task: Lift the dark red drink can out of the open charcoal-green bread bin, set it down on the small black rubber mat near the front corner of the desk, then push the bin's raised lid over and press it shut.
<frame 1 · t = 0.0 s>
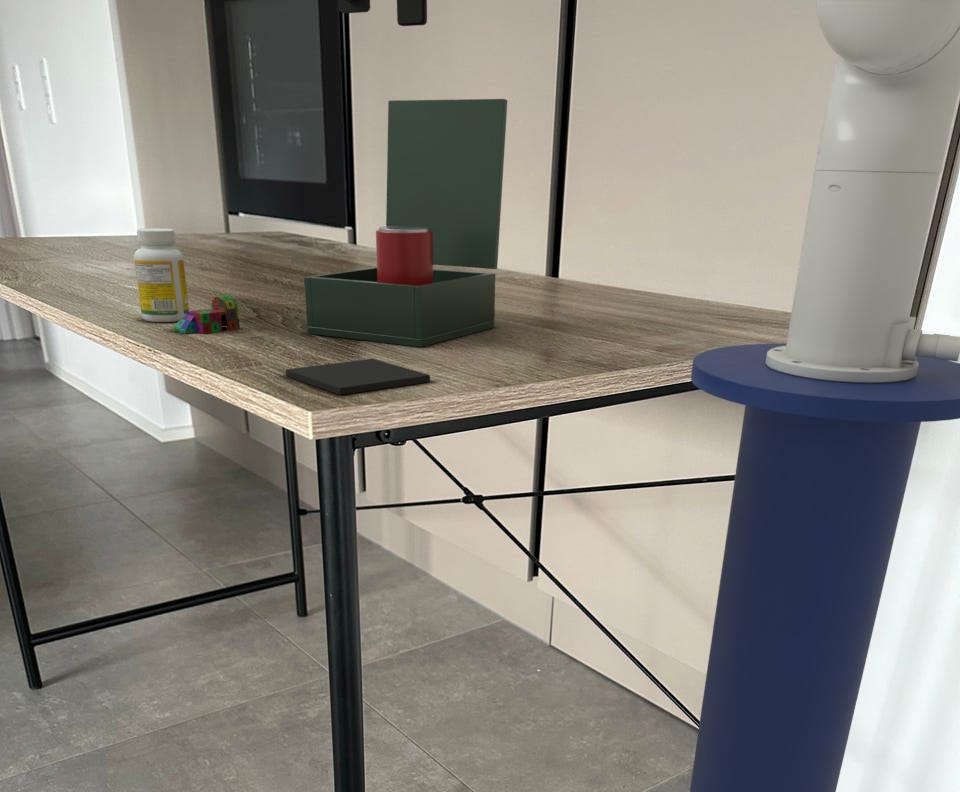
hand: (384, 18, 90), 29 cm above the table, tool pointing down, fingers open, 9 cm apart
mat: (357, 379, 81), on the table
can: (406, 325, 103), point 1 cm above the table, touching bread bin
supplement bottle: (166, 321, 109), on the table
bread bin: (403, 330, 105), on the table
bin lid: (451, 186, 106), point 14 cm above the table, hinge at 95.0°
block: (206, 331, 103), on the table
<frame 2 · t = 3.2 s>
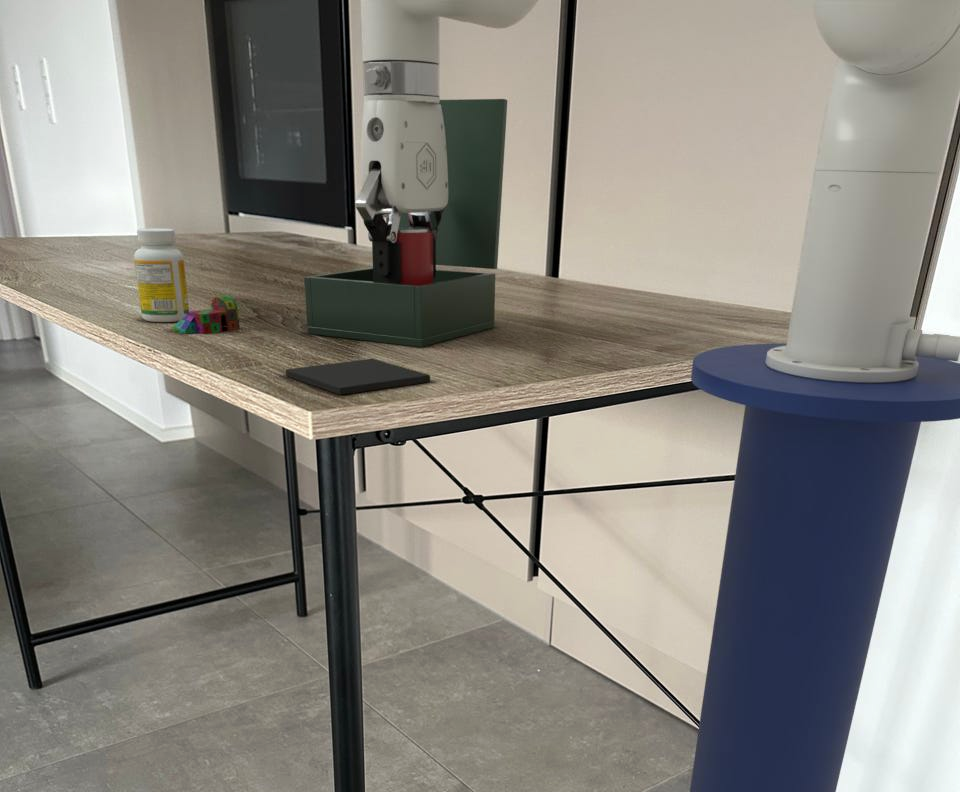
hand: (405, 278, 101), 6 cm above the table, tool pointing down, fingers closed on can, 6 cm apart
can: (406, 325, 103), point 1 cm above the table, touching bread bin, gripper
everything else where it was.
when the fingers open (5 cm above the table, at t = 11.2 s): can stays where it is, resting on mat.
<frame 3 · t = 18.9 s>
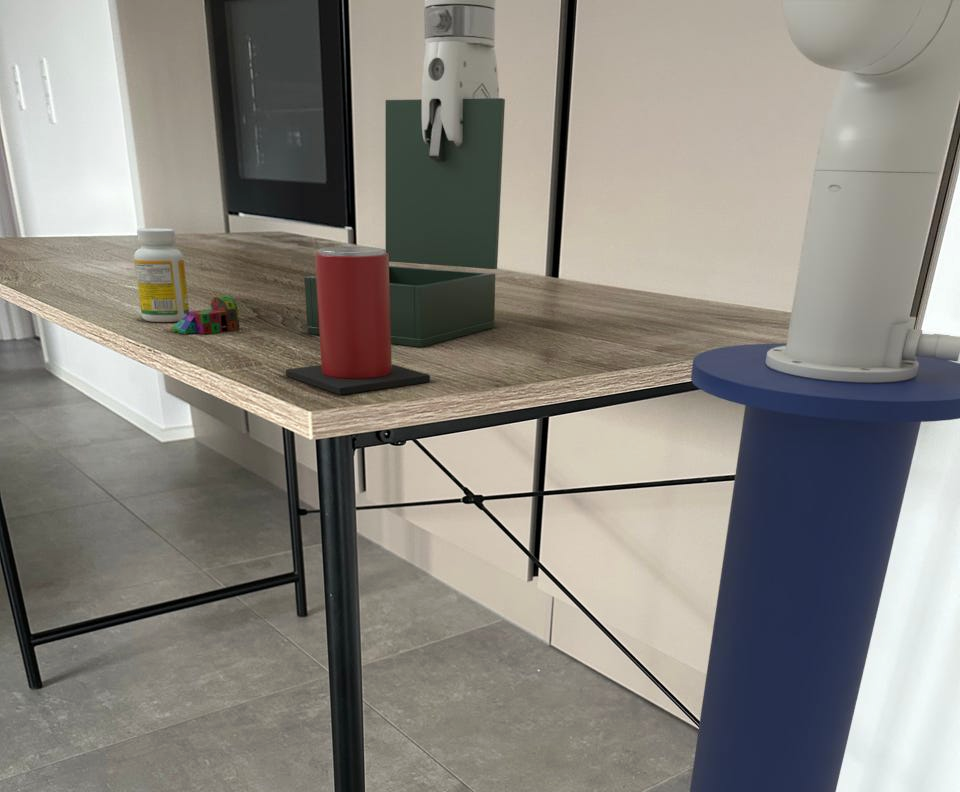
hand: (458, 217, 109), 11 cm above the table, tool pointing down, fingers closed
can: (356, 372, 81), point 1 cm above the table, touching mat
bin lid: (450, 185, 106), point 14 cm above the table, hinge at 93.0°, touching gripper
everything else where it was.
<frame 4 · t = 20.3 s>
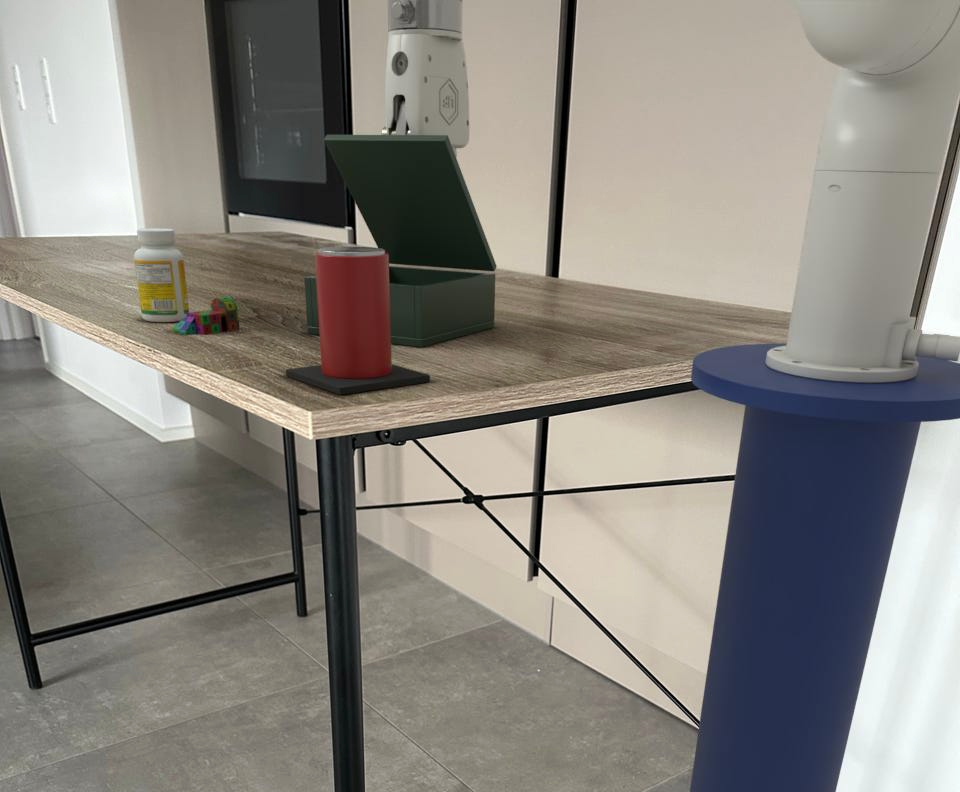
hand: (427, 220, 103), 11 cm above the table, tool pointing down, fingers closed
bin lid: (420, 192, 101), point 14 cm above the table, hinge at 49.7°, touching gripper
everything else where it was.
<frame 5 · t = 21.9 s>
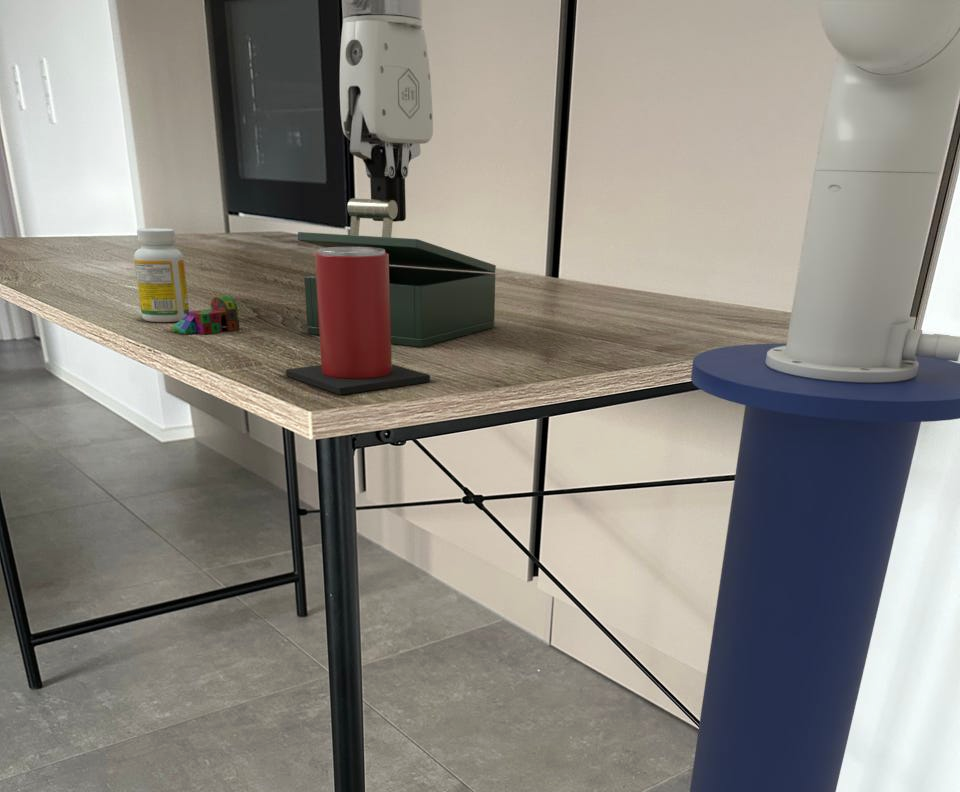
hand: (388, 220, 97), 11 cm above the table, tool pointing down, fingers closed
bin lid: (402, 234, 100), point 10 cm above the table, hinge at 12.3°, touching gripper
everything else where it was.
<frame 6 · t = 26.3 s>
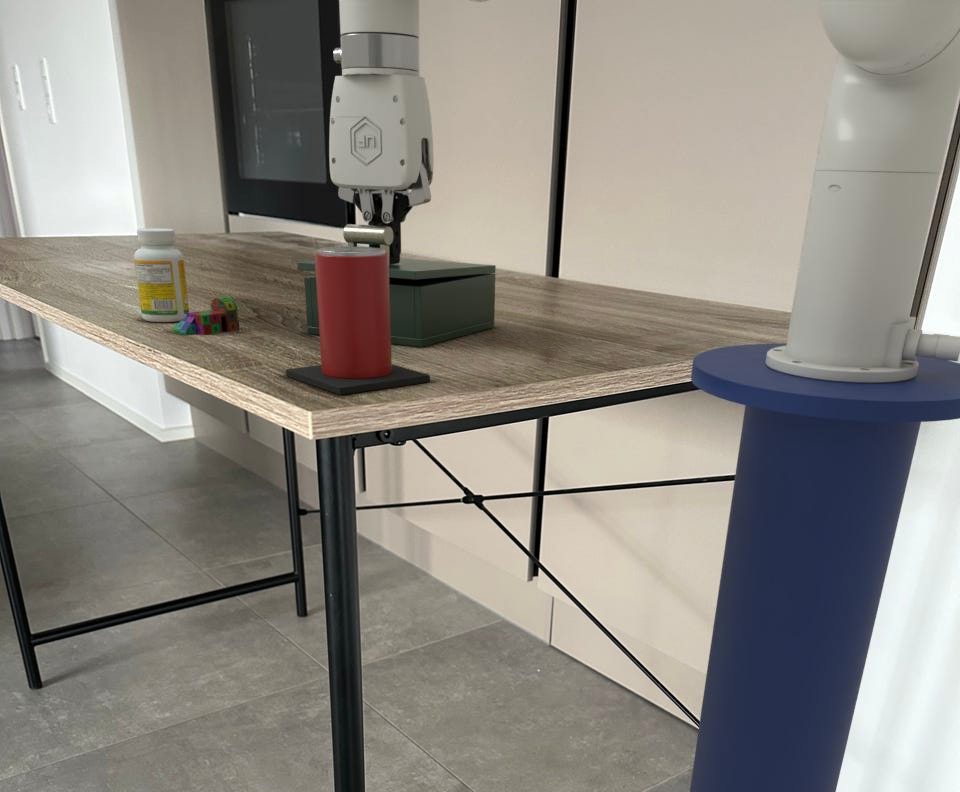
hand: (385, 263, 99), 7 cm above the table, tool pointing down, fingers closed
bin lid: (399, 248, 100), point 8 cm above the table, hinge at 2.3°
everything else where it was.
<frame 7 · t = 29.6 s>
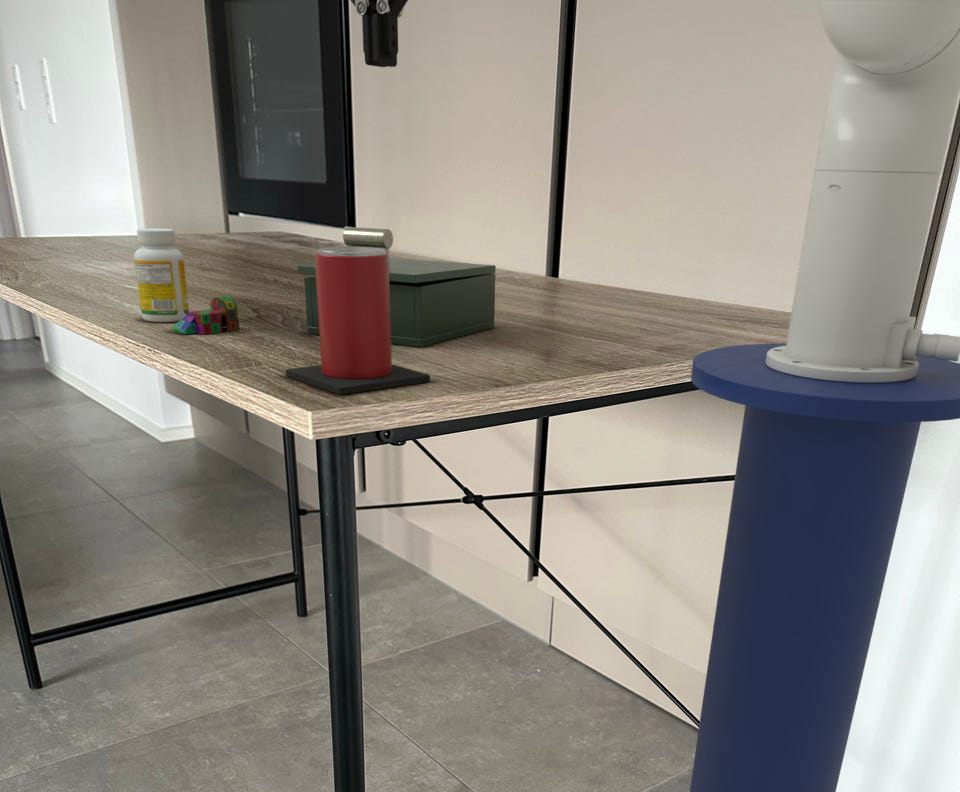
hand: (381, 65, 91), 25 cm above the table, tool pointing down, fingers closed
bin lid: (399, 250, 100), point 8 cm above the table, hinge at 1.3°
everything else where it was.
at the end: can 0.0 cm off-centre on the mat, point 0.6 cm above the mat's base; can tilted 0°; bin lid at +1° (first picture: +95°) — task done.
